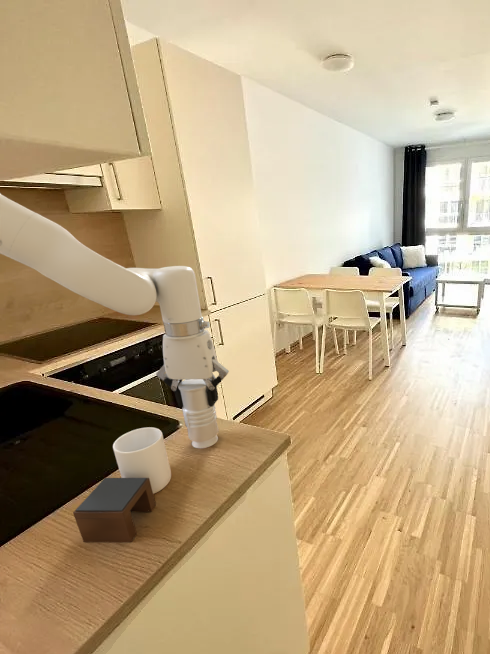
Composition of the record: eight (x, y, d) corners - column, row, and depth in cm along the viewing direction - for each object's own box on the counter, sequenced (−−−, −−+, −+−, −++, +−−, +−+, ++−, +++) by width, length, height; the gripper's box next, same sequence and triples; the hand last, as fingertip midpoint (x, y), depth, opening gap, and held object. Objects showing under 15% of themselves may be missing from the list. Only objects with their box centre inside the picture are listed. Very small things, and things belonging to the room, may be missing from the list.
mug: (142, 460, 78) (131, 419, 74) (182, 456, 79) (173, 415, 75) (118, 501, 67) (104, 454, 63) (164, 496, 68) (153, 450, 64)
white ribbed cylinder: (183, 442, 84) (171, 384, 79) (210, 429, 89) (200, 374, 84) (199, 453, 80) (187, 393, 74) (226, 439, 85) (217, 381, 79)
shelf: (83, 542, 58) (72, 511, 56) (113, 505, 66) (104, 476, 64) (131, 542, 58) (122, 511, 56) (156, 505, 66) (148, 476, 63)
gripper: (230, 321, 78) (240, 395, 84) (152, 323, 78) (168, 396, 85) (219, 332, 71) (231, 412, 77) (133, 333, 71) (152, 412, 78)
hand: (198, 403), depth 81 cm, fingers closed on white ribbed cylinder, 6 cm apart
